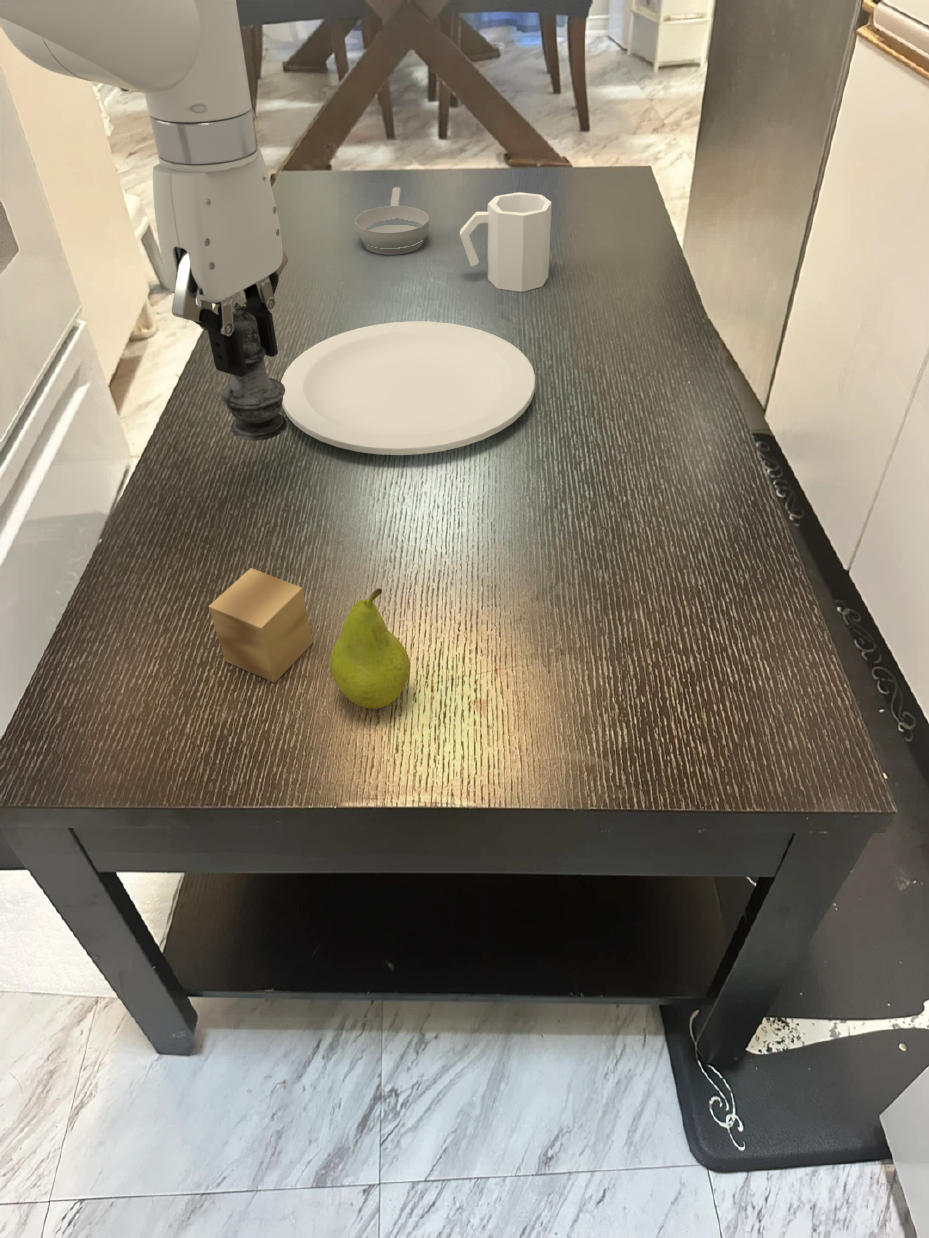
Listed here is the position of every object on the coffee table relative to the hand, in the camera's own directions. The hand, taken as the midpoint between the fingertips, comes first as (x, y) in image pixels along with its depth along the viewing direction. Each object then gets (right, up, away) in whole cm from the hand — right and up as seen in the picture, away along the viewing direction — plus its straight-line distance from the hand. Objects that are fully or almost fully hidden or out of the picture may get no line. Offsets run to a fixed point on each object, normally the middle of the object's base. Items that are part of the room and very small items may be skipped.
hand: (247, 360), depth 80 cm
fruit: (+13, -29, -12) cm, 34 cm away
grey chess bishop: (0, -5, +5) cm, 7 cm away
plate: (+13, +1, +20) cm, 24 cm away
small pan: (+9, +35, +55) cm, 65 cm away
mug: (+25, +23, +42) cm, 54 cm away
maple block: (+4, -26, -9) cm, 28 cm away
